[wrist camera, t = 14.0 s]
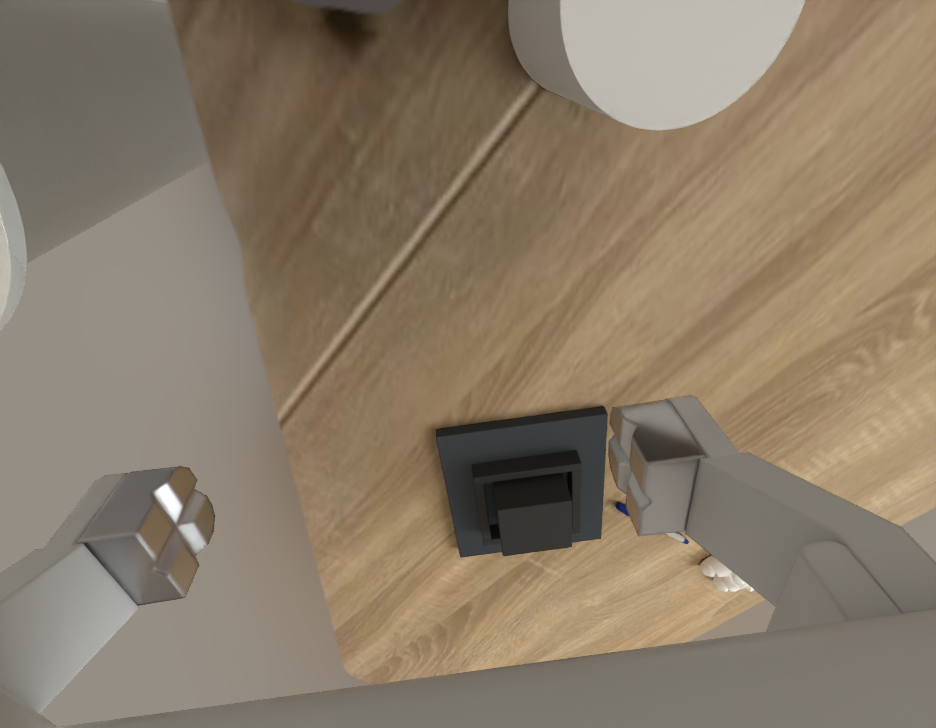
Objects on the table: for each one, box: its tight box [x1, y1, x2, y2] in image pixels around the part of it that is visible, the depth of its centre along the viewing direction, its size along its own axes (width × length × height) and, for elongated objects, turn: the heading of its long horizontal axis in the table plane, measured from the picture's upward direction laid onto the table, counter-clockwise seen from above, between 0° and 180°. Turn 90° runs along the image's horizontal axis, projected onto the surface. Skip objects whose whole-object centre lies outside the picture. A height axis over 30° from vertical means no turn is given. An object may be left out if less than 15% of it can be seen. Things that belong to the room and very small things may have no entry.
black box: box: [493, 473, 572, 556], centre depth 43 cm, size 6×6×4 cm
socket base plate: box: [436, 407, 608, 557], centre depth 44 cm, size 14×16×3 cm
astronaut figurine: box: [700, 555, 754, 592], centre depth 52 cm, size 9×12×3 cm
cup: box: [508, 0, 805, 130], centre depth 21 cm, size 8×8×12 cm
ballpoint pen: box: [616, 503, 689, 544], centre depth 49 cm, size 10×1×1 cm, turn 55°
